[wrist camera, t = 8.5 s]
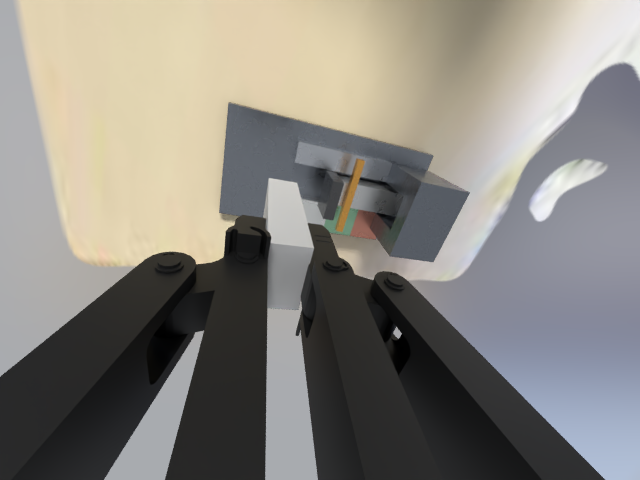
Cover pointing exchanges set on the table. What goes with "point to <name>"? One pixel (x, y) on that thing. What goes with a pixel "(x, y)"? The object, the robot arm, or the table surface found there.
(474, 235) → the table surface
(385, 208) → the orange-striped grey block
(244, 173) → the gauge base
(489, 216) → the table surface
